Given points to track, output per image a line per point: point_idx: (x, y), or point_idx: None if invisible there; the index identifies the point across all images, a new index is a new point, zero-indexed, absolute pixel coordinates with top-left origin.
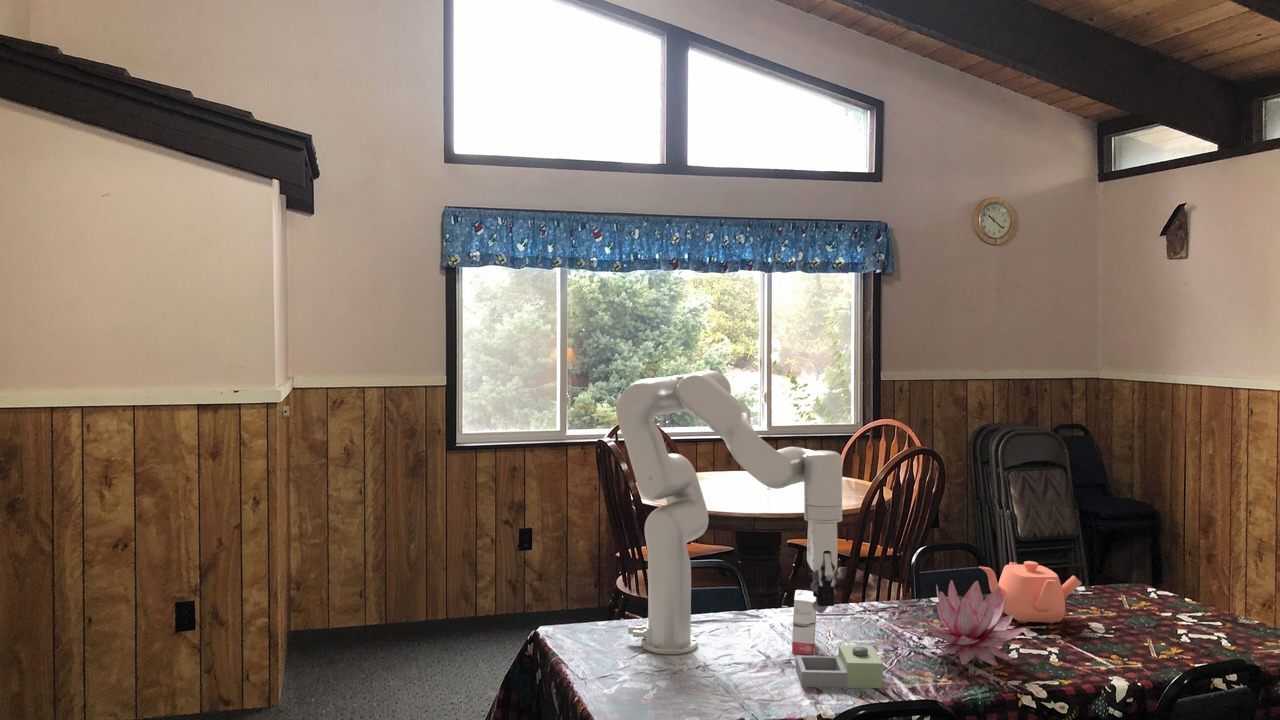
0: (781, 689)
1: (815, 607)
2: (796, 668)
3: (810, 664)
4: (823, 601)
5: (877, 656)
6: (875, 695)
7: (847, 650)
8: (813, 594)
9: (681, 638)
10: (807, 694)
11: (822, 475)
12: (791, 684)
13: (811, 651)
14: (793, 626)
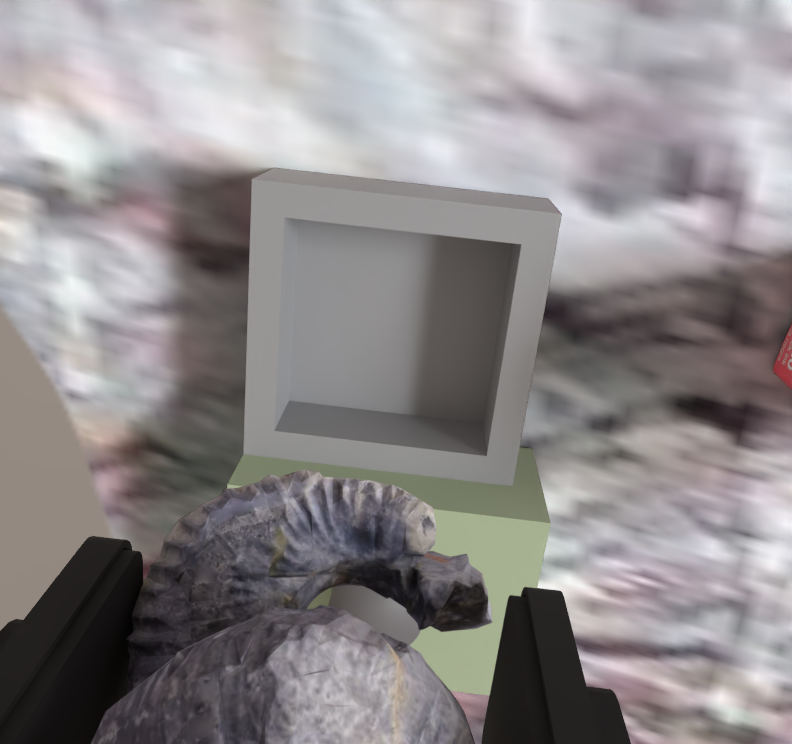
0: (232, 25)
1: (228, 496)
2: (512, 197)
3: (508, 294)
4: (14, 628)
5: None
6: (172, 517)
7: (444, 546)
8: (527, 599)
9: None
10: (163, 176)
11: None
12: (312, 112)
13: (783, 366)
14: None
